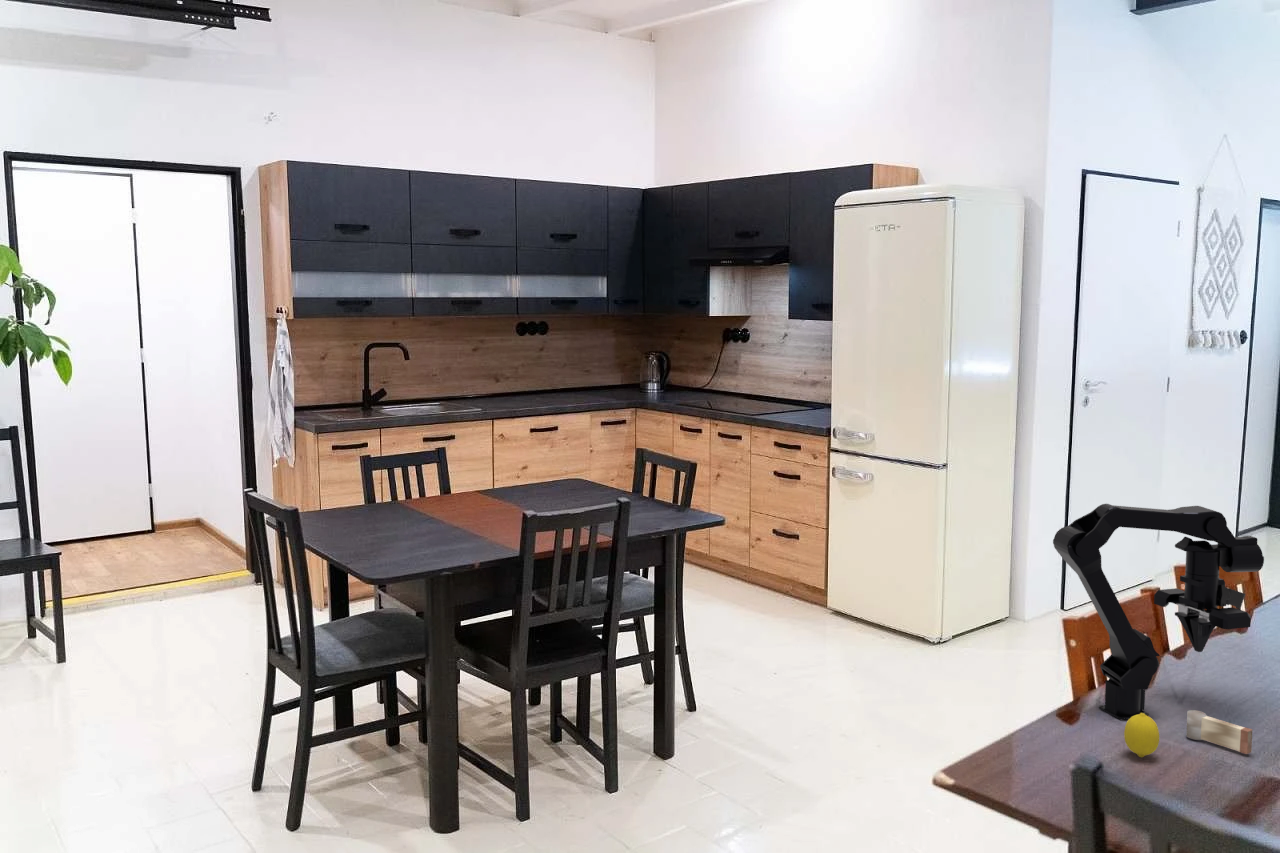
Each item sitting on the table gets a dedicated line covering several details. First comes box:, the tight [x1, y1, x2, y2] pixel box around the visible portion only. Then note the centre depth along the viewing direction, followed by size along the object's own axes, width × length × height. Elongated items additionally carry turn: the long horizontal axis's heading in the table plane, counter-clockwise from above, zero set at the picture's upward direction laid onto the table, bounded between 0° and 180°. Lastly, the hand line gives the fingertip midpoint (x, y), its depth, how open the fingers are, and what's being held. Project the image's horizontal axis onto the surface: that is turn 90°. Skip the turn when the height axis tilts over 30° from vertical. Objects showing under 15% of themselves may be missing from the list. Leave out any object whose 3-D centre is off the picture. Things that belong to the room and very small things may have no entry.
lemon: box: [1123, 713, 1160, 758], centre depth 180 cm, size 6×6×8 cm
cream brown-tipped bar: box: [1186, 709, 1254, 755], centre depth 184 cm, size 11×3×4 cm, turn 34°
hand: (1198, 651), depth 200 cm, fingers closed
